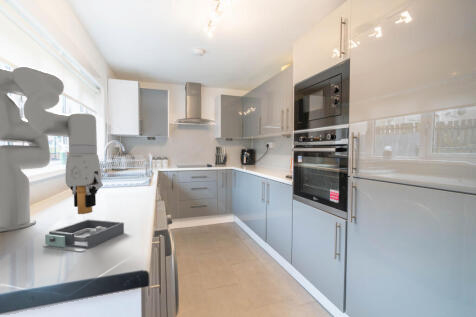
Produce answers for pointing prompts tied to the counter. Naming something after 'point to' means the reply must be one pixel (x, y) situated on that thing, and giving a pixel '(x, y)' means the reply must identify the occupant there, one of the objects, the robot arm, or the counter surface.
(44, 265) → the counter surface
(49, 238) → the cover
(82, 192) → the peg
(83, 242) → the tray
